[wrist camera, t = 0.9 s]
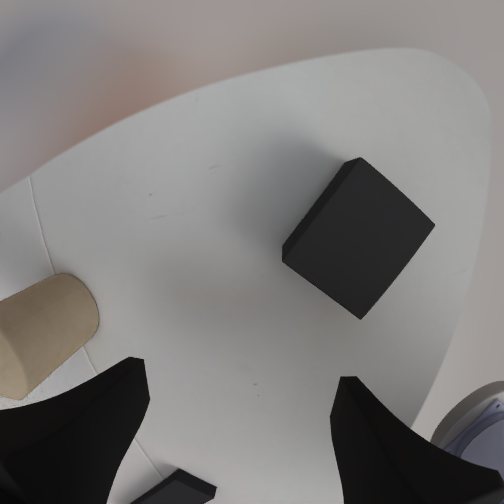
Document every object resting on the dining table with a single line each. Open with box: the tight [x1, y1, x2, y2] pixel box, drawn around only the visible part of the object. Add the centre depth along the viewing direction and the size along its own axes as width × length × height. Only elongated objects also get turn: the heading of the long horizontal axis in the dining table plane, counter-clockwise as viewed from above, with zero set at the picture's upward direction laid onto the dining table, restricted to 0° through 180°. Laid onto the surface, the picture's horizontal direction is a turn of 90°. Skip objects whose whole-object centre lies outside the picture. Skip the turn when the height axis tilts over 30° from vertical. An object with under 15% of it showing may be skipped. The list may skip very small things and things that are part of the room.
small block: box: [282, 157, 435, 319], centre depth 15 cm, size 6×5×4 cm
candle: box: [0, 274, 99, 400], centre depth 15 cm, size 6×6×10 cm
